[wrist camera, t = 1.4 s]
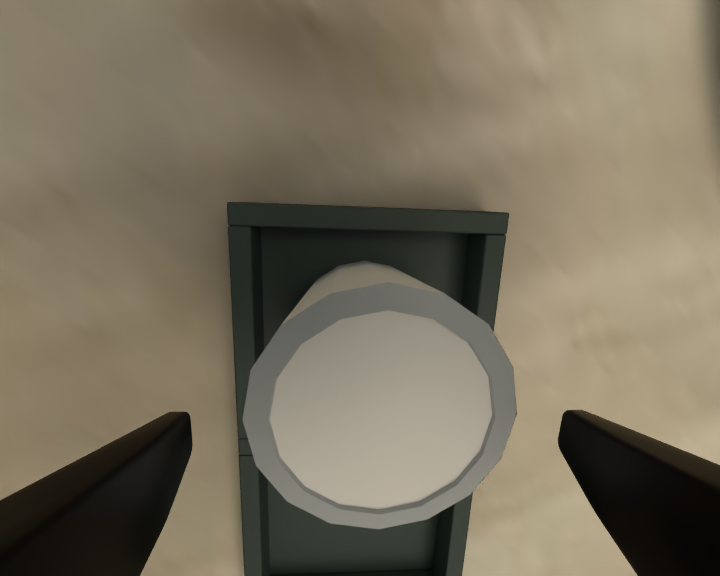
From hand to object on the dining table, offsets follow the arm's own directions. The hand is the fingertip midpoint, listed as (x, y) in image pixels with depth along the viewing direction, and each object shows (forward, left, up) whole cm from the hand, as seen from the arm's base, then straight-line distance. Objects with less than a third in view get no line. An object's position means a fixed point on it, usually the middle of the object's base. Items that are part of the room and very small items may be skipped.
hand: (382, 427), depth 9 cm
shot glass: (0, 0, -8) cm, 8 cm away
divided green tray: (-5, 0, -8) cm, 9 cm away
